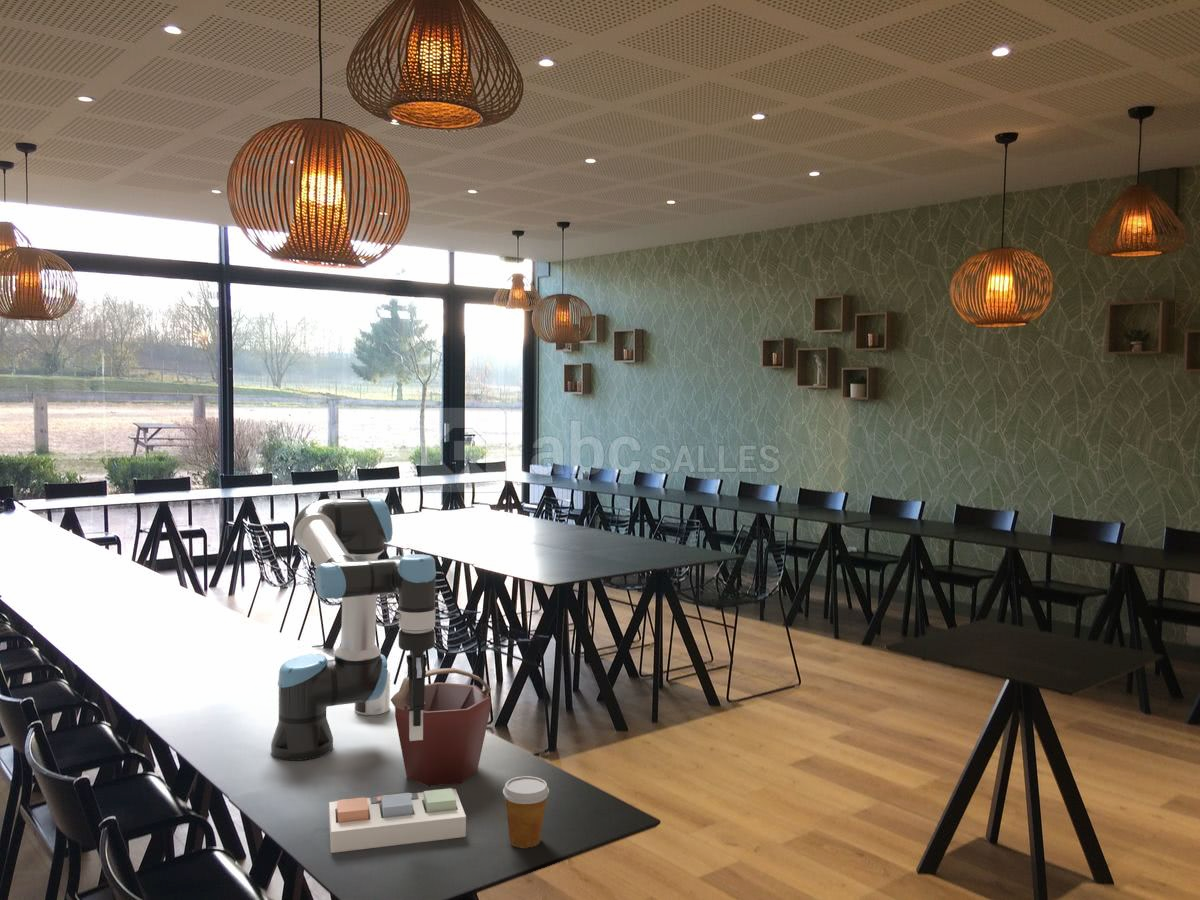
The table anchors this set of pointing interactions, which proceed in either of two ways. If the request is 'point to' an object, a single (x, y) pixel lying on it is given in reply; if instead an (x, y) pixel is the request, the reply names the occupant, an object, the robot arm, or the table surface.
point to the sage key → (439, 800)
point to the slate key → (396, 805)
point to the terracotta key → (352, 810)
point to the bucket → (444, 730)
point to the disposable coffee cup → (525, 809)
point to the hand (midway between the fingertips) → (416, 739)
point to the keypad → (395, 826)
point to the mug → (376, 702)
